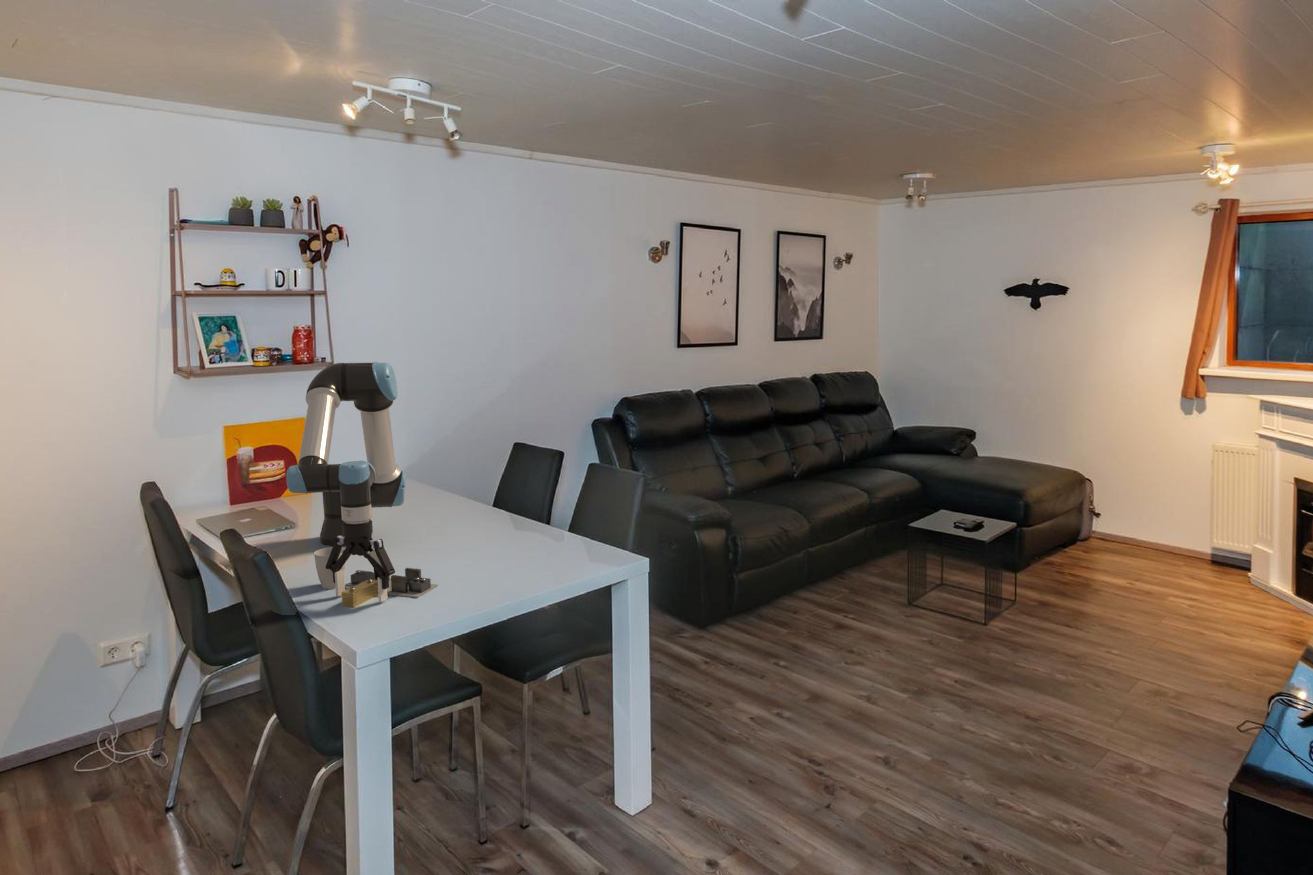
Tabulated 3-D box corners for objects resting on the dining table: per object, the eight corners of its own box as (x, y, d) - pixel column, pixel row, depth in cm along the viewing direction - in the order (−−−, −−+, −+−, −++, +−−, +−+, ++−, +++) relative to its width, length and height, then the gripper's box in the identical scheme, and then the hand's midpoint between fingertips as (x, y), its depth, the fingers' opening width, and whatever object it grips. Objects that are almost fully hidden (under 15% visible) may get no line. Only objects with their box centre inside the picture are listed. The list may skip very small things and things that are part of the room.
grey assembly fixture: (347, 585, 231) (346, 570, 231) (364, 577, 238) (363, 562, 238) (418, 594, 224) (417, 579, 223) (433, 585, 231) (433, 570, 230)
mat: (343, 588, 230) (343, 587, 230) (366, 577, 240) (366, 575, 240) (417, 597, 223) (417, 596, 223) (438, 585, 232) (438, 584, 232)
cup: (336, 578, 238) (333, 545, 237) (353, 584, 234) (351, 550, 232) (310, 586, 232) (308, 552, 230) (327, 592, 227) (325, 557, 225)
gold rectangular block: (353, 608, 216) (352, 591, 215) (342, 606, 217) (341, 589, 217) (380, 594, 226) (379, 577, 226) (370, 592, 228) (369, 576, 227)
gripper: (308, 520, 219) (313, 596, 222) (388, 527, 211) (392, 607, 214) (327, 513, 226) (332, 587, 229) (406, 520, 218) (410, 597, 221)
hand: (361, 597), depth 222 cm, fingers open, 13 cm apart
